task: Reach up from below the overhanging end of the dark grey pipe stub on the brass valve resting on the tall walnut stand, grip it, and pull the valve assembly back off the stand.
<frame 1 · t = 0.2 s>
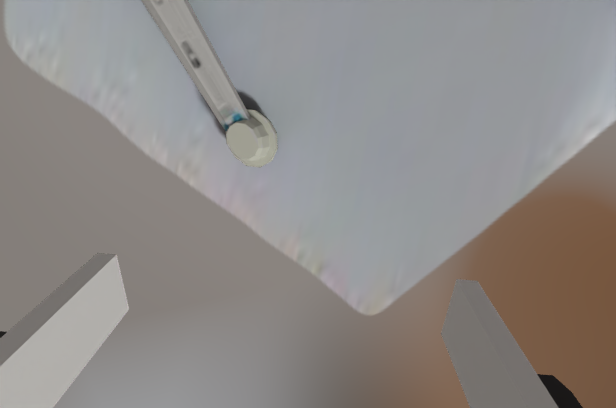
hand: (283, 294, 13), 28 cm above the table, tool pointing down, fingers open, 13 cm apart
toothbrush head: (208, 55, 36), on the table
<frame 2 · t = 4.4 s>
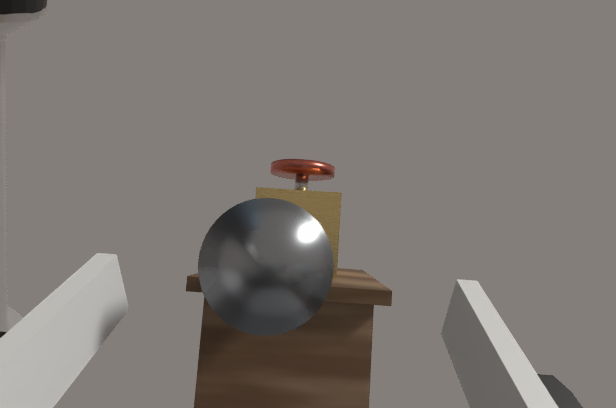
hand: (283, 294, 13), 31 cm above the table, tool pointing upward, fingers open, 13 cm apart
valve pipe: (290, 279, 25), point 30 cm above the table, touching stand
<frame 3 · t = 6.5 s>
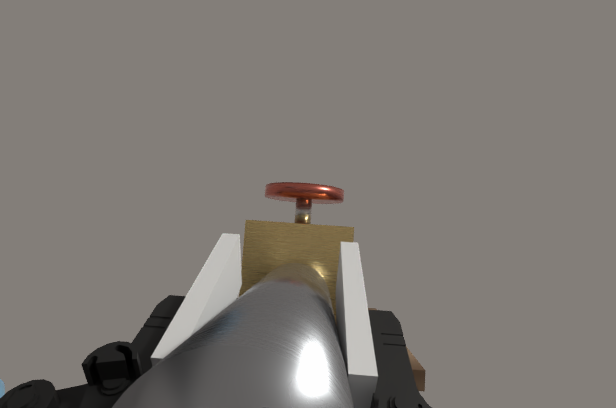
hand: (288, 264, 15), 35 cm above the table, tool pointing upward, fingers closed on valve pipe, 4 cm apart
valve pipe: (288, 345, 19), point 30 cm above the table, touching gripper, stand
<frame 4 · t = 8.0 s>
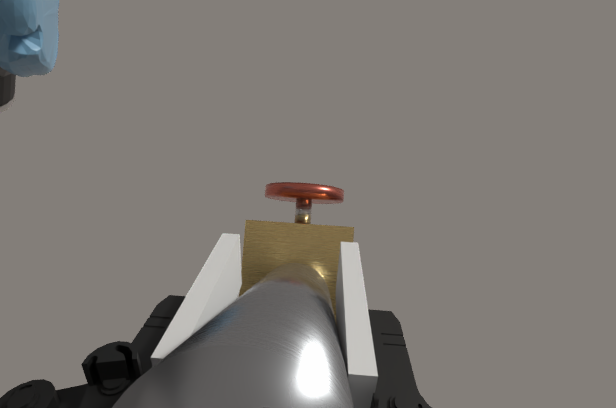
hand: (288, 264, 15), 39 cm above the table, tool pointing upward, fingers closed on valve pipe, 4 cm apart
valve pipe: (288, 345, 19), point 34 cm above the table, touching gripper
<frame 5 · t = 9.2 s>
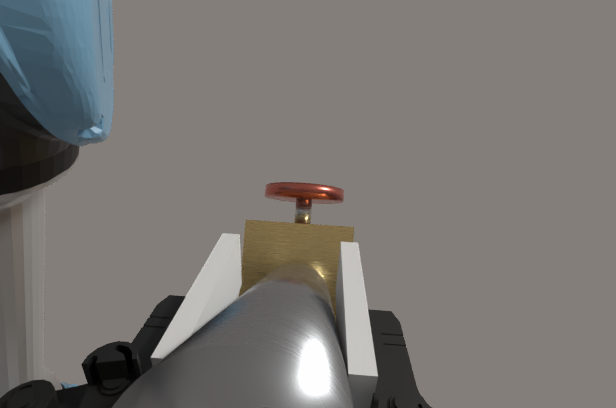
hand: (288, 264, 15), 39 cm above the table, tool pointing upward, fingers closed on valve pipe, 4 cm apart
valve pipe: (288, 345, 19), point 34 cm above the table, touching gripper
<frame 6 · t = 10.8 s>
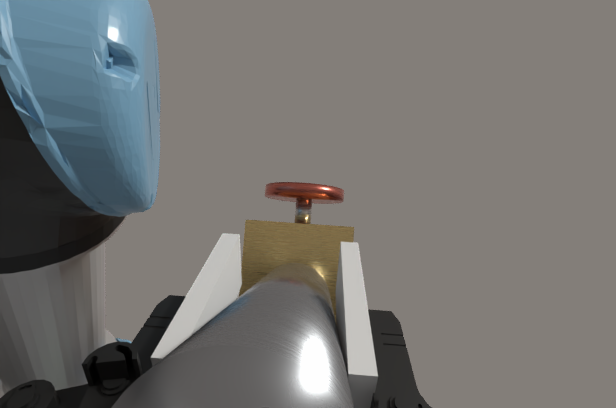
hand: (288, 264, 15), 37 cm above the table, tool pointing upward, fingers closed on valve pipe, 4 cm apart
valve pipe: (288, 345, 19), point 32 cm above the table, touching gripper
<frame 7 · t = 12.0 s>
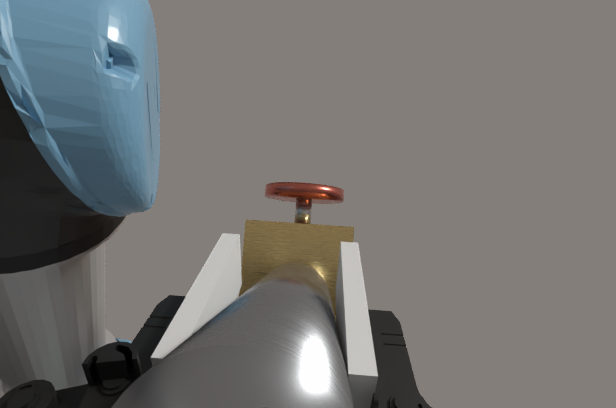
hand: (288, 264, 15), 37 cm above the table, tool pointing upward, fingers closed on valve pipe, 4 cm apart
valve pipe: (288, 345, 19), point 32 cm above the table, touching gripper
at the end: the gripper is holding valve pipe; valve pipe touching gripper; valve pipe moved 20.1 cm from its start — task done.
